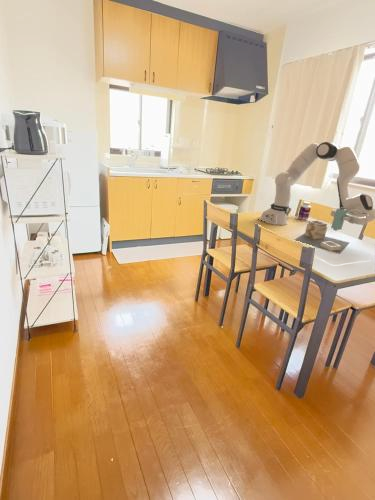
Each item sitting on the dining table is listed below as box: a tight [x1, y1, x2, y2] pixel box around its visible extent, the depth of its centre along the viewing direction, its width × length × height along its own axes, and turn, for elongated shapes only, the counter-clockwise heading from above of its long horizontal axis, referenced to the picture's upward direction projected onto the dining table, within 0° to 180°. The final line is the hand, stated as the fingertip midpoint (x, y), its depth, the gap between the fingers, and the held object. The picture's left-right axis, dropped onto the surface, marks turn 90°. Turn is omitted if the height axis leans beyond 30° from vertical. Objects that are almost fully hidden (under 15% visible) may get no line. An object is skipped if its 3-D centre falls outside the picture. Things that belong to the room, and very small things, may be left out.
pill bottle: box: [297, 201, 312, 221], centre depth 229 cm, size 8×8×14 cm
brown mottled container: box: [304, 220, 328, 239], centre depth 186 cm, size 9×9×10 cm
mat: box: [294, 232, 350, 255], centre depth 179 cm, size 28×28×1 cm
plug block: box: [330, 207, 347, 231], centre depth 162 cm, size 4×4×13 cm
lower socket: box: [320, 241, 341, 252], centre depth 169 cm, size 8×8×2 cm
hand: (338, 217), depth 161 cm, fingers closed on plug block, 4 cm apart
